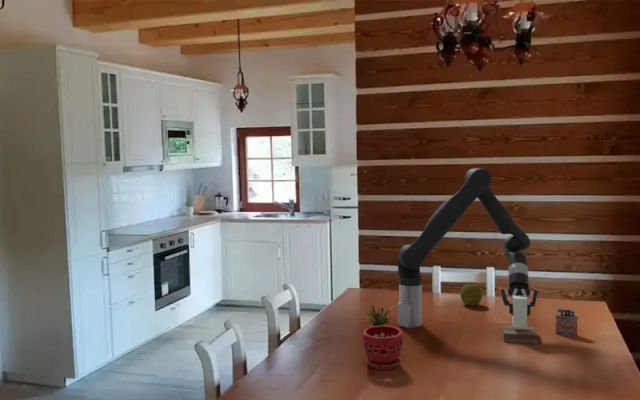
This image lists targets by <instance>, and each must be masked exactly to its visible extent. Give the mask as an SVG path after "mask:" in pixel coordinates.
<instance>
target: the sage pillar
mask: <svg viewBox="0 0 640 400" xmlns="http://www.w3.org/2000/svg"><path fill="white" fill-rule="evenodd" d="M511 319H512V325H513V327H526V328H527V326H528V316H527V297H526V296H518V295H516V296H513V315H512V318H511Z"/></svg>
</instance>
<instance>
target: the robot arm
mask: <svg viewBox="0 0 640 400" xmlns="http://www.w3.org/2000/svg"><path fill="white" fill-rule="evenodd" d="M492 179H493V177H492V174H491V172H490V171H489V170H488V169H486V168H483V167H475V168H471V169H469V170H468V171H467V172H466V173H465V175H464V182H465V183H464V184H463V185H462V186H461V188H460V189H459V190H458V191H457V192H456V193H455V194H453V195H452V196H450V197H449V198H448V199H447V200H445V201H444V202H443V203H442V204H441V205H439V207H438V208H437V209H436V211H435V212H434V213H433V214H432V215H431V217H430V218H429V220H428V221H427V222H426V224H425V227H424V229H423V230H422V231H421V234H420V235H419V236H418V237H417V238H416V239H415V241H414V242H412V244H404V245H403V246H401V247H400V249H399V250H398V253H397V275H398V276H397V277H398V293H399V294H398V297H399V298H398V302H397V326H400V327H403V328H407V329H411V328H412V329H414V328H419V327H420V328H421V327H422V325H423V324H422V323H423V321H422V319H423V317H422V316H423V315H422V313H423V312H422V311H423V309H422V306H423V304H422V301H423V300H422V299H423V298H422V297H423V296H422V295H423V293H422V291H423V289H422V288H423V287H422V286H423V285H422V282H423V280H422V274H421V265H422V264H423V262H425V260H426V259H427V257H428V255H430V253H431V252H432V250H433V249H434V247H435V246H436V245H437V244H438V243H439V242H441V240H442V239H443V238H444V237H445V235H446V234H448V232H449V231H451V229H452V228H453V227H454V226H455V225H456V223H457V222H458V221H459V220H460V218H461V217H463V215H464V214H465V212H466V211H467V209H469V207H470V206H471V205H472V204H473V202H474V201H475V200H477V199H478V201H479V202H480V203H481V204H482V205H483V207H484V208H485V210H486V212H487V213H488V215H489V216H490V219H491V220H492V222H493V224H494V225H495V226H496V228H497V231H498V232H499V233H500V234H501V235H510V236H508V237H506V238H505V239H504V241H503V247H504V248H503V249H504V250H505V254H506V256H507V259H508V272H507V273H508V275H507V276H508V277H507V278H508V288H507V289H504V288H503V289H501V290H500V295H501V298H502V301H503V305H504V306H508V309H509V311H508V312H509V314H510V315H511V316H513V296H516V295H518V296H526V297H527V317H529V316H530V315H531V313H532V311H531V308H532V307H533V308H534V307H535V306H536V302H537V298H538V293H539V292H538V290H534V291H533V290H531V289H530V283H529V281H530V280H529V271H528V270H529V269H528V262H527V261H528V260H527V255H525V254H524V253H523V251H525V250H528V249H529V248H530V246H531V240H530V237H529V236H528V234H527V233H526V232H524V230H522V229H521V228H520V227H519V225H517V224H516V223H515V222H514V220H513V218H512V216H511V215H510V213H509V212H508V210H507V209H506V208H505V206H504V205H503V204H502V203H501V201H500V200H499V199H498V198H497V197H496V195H495V194H494V193H493V191H492V189H491V188H490V185H491V184H492ZM521 251H522V252H521ZM507 295H509V297H510V300H508V298H507ZM530 295H531V297H532V300H531V301H530V300H529V296H530Z"/></svg>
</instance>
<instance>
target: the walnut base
mask: <svg viewBox="0 0 640 400" xmlns="http://www.w3.org/2000/svg"><path fill="white" fill-rule="evenodd" d="M501 332H502V338H503V342H505V343H508V342H509V343H519V344H520V343H523V344H538V333H537V330H536V327H535V326H532V325H531V326H530V325H529V326H528V325H527V328H526V327H513V324H512V325H511V324H502V331H501Z"/></svg>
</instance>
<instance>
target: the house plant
mask: <svg viewBox="0 0 640 400" xmlns="http://www.w3.org/2000/svg"><path fill="white" fill-rule="evenodd" d="M381 303H382V301H381V302H380V303H379V305H378V306H379V307H378V310H377V312H376V309H375V307H374V305H373V304H372V303H371V302H370V303H369V308H370V309H371V310H370V309H369V308H368V307H367V306H366V305H364V307H365V309H366V310H367V311H366V310H365V311H364V310H363V311H362V313H363V312H365V313H366V314H368V316H365V317H364V319H366V320H364V321H365V322H367V321H368V322H369V323H368V326H370V325H372V326H371V327H373V326H387V325H386V324H388V326H391V322H390V321H392V318H394V316H387V315H388V314H389V312H390V311H392V308H394V307H395V306H396V305H395V304H394V305H392V306H391V307H389V308H388V309H387V310H386V312H385V313H384V308H385V305H382V307H381ZM360 306H363V304H361V303H360ZM383 313H384V314H383ZM380 335H381V336H384V333H381V334H380ZM374 337H378V335H377V334H375V335H374Z"/></svg>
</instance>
